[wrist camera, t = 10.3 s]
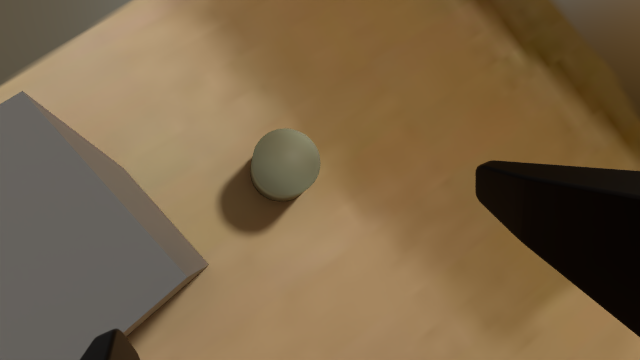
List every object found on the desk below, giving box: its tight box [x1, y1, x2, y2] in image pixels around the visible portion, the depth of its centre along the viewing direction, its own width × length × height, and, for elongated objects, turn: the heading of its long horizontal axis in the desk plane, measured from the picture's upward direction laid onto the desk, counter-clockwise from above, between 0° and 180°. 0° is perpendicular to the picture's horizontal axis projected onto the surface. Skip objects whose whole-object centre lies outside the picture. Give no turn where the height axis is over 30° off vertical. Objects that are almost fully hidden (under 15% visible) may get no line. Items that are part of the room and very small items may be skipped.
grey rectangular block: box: [0, 91, 209, 360], centre depth 13 cm, size 7×7×10 cm
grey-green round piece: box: [250, 129, 320, 201], centre depth 20 cm, size 3×3×2 cm
